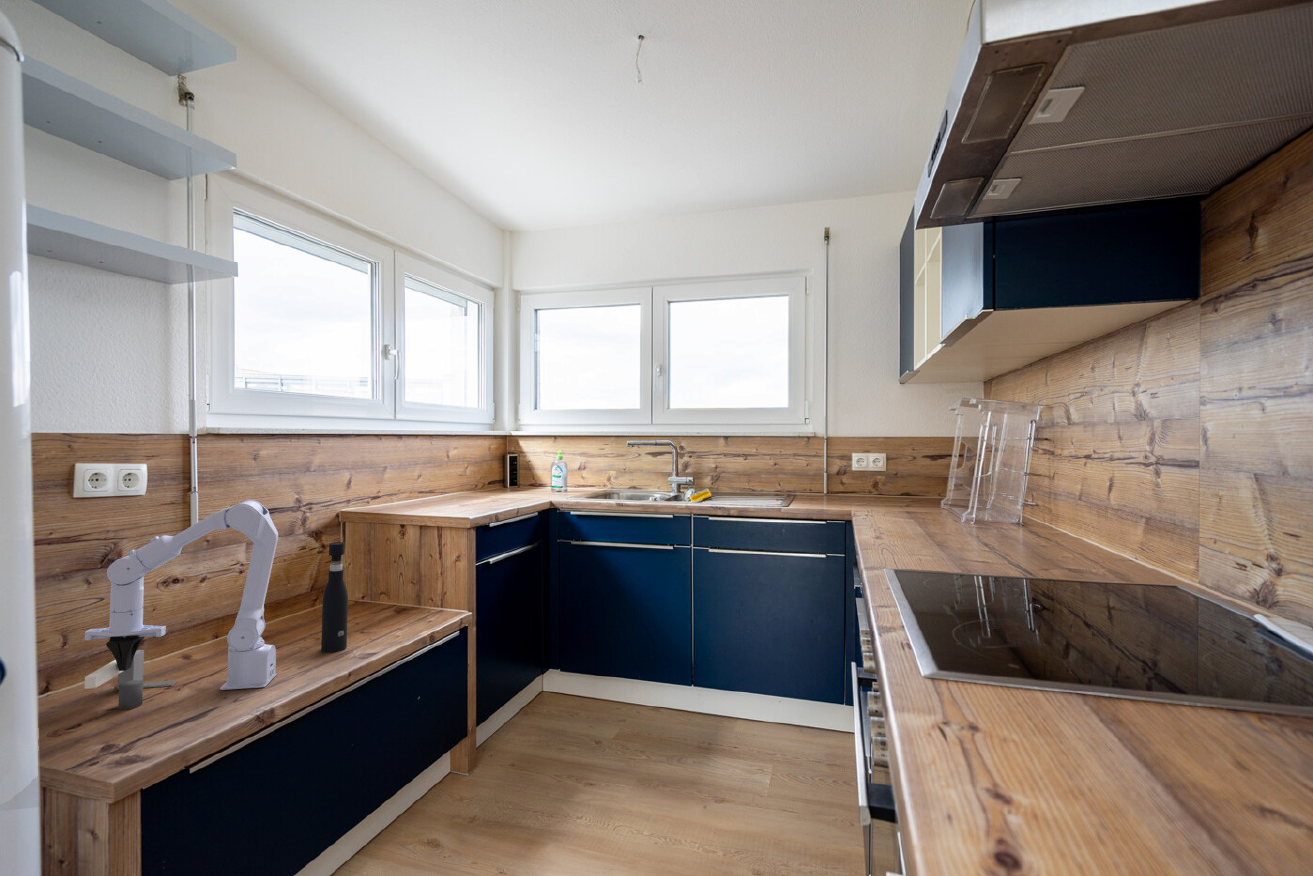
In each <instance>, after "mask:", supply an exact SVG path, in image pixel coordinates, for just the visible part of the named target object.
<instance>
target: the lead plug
mask: <svg viewBox="0 0 1313 876" xmlns="http://www.w3.org/2000/svg"><path fill="white" fill-rule="evenodd" d="M143 682H144V679H143V680H131V681H127V682H124V683H121V684H120V685H119V690H118V704H117V707H118V710H119V711H129V710H133V709H136V708H139V707H141V706H143V701H144V699H143V696H144V694H143V693H144V688H143Z"/></svg>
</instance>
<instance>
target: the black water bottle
mask: <svg viewBox="0 0 1313 876" xmlns="http://www.w3.org/2000/svg"><path fill="white" fill-rule="evenodd" d="M344 555H345V542H341V541H335V542H330V543H329V544H328V556H331V559H330V560H331V561H330V562H331V563H330V565H329V570H328V577H327V579H328V580H327V583H326V585H325V589H324V592H323V596H322V605H321V607H322V608H321V609H322V611H321V639H320V640H321V645H320V648H321V649H320V650H321V652H322V653H337V652H342V651H343V650H346V649H347V647H348V645H347V643H348V641H347V640H348V617H349V616H348V615H349V613H348V612H349V611H348V608H349V605H348V604H349V596H348V590H347V589H348V588H347V586H346V583H345V581H344V571H345V570H344V569H343V563H342V562H343V560H342V557H343V556H344Z"/></svg>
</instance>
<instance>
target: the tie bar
mask: <svg viewBox="0 0 1313 876" xmlns="http://www.w3.org/2000/svg"><path fill="white" fill-rule="evenodd" d="M144 658H145V649H137V651H136V653H135V655H134V658H133V661H132V664H131V668H129V669H128V670H126V671H119V669H118V665H117V662H116V660H115V659H114V660H112V661H111V662H109V663H107V664H105V665H103V666H101V667H100V668H98V669H96V670H95V671H93V672H91V673H89V674H87V675H86V676H84V689H85V690H86V689H88V690H89V689H97V688H99V686H101V685H103V684H105V683H106V682H107V681H110V680H112V679H113V678H114V677H116V676H117V687H118V689H119V685H120V684H121V683H124V682H127V681H131V680H143V681H144V664H145V663H144V661H145V659H144Z"/></svg>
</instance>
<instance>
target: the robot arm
mask: <svg viewBox="0 0 1313 876" xmlns="http://www.w3.org/2000/svg"><path fill="white" fill-rule="evenodd" d="M229 528H232V529H233V530H235V531H237V532H240V533H242V534H244V535H245V536H246V537H247V538H248V539H249V540H250V541H251V542H252V543H253V546H252V550H251V556H250V559H249V564H248V570H247V574H246V580H245V583H244V588H243V593H242V597H241V601H240V606H239V608H238V609H239V610H238V612H237V616H236V618H235V620H234V621H235V623H234V625H233V626H232V627H231V629H230V630H229V632H228V634H227V636H226V637H227V638H226V640H227V644H228V646H227V647H228V649H227V650H228V651H227V652H228V653H227V681H226V682H225V683H224V684H222V686H221V687H220V688H219V690H220V691H226V690H239V689H241V690H242V689H243V690H244V689H257V688H265V687H266V686H267V685H268V684H269V683H270V682H271V681H272V680H273V679H274V678H275V677H276V676H277V673H276V670H277V669H276V667H277V665H276V664H277V663H276V662H277V648H276V645H274V644H266V643H265V640H264V639H263V637H262V636H261V635H262V634H263V632H264V631H265V629H266V621H265V618H264V613H265V606H264V605H265V601H266V596H267V592H268V587H269V582H270V578H271V574H272V573H271V572H272V569H273V564H274V559H275V554H276V548H277V545H278V541H279V533H278V530H277V528H276V526H275V524H274V522H273V520H272V518H271V516H270V511H269V510H268V509H267V508H266V507H265V506H264V505H263V504H262V503H260V501H257V500H254V499H248V500H243V501H241V502H239V503H237V504H234V505H232V506H229V507H226V508H224V509H221V510H218V511H216V512H214V513H212V514H210V515H208V516H206V517H205V518H203V519H201V520H200V521H198V522H196V523H194V524H193V525H191V526H189V527H187V528H186V529H184V530H182V531H181V532H179V533H177V534H175V535H166V534H165V535H161V536H160V537H159V536H158V535H157V536H153V537H152V538H150V539H149V542H148V543H146V544H145V545H143V546H141V547H139V548H138V549H131V550H130V551H128V552H127V554H128V555H126V556H124V557H122V558H119V559H115V561H113V562H112V563H111V564H110V565H109V566H108V567H107V569H106V576H107V579H108V580H109V581H110V594H109V595H110V598H109V626H108V627H102V628H99V627H98V628H91V629H88V630H86V631H85V632H84V641H91V640H98V639H109V640H108V641H107V642H106V643H105V644H106V648H108V650H109V651H110V652H111V653H112V655H113V657H114V660H116V662H117V665H118V669H119V671H126V670H128V669H129V668H131V664H132V661H133V658H134V655H135V653H136V651H137V650H139V647H140V645H141V644H142V642H143V641H144V639H145V638H146V637H147V638H148V637H156V638H160V637H161V638H162V637H163V636H165V635H166V629H167V626H166V625H150V624H149V625H146V624H143V623H144V596H145V595H144V594H145V586H144V583H145V582H144V580H145V576H146V574H147V573H148V572H152V571H153V570H154V571H155V570H156V569H158V568H159V567H161V566H163V565H165V564H167V563H168V562H170V561H171V560H174V559H175V558H177V557H179V556H180V555H181V553H182V549H183V548H184V547H185V546H186V545H189V544H190V543H192V542H194V541H196V540H198V539H200V538H202V537H204V536H206V535H207V534H209V533H210V532H213V531H215V530H227V529H229Z"/></svg>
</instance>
